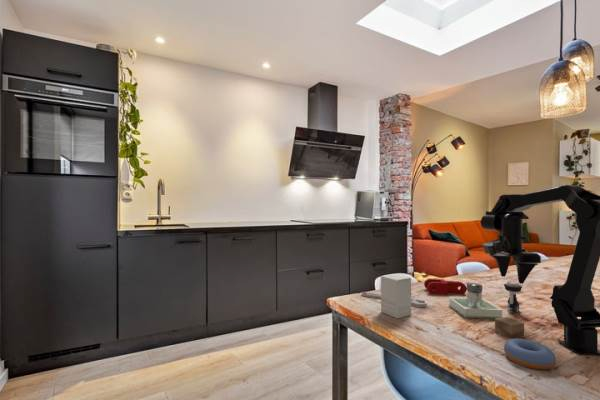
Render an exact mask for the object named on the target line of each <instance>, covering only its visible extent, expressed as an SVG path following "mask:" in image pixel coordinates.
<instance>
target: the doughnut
mask: <svg viewBox="0 0 600 400" xmlns="http://www.w3.org/2000/svg"><path fill="white" fill-rule="evenodd" d="M503 351H504V353H505V354H504V355H506V357H507V358H508V359H510V360H511V361H512V362H513V363H516V364H518V365H520V366H523V367H526V368H529V369H533V370H543V371H544V370H545V371H546V370H551V369H553V368H554V367H555V365H556V355H555V353H554V352H553V350H552V349H550V348H549V347H548V346H546V345H544V344H542V343H540V342H537V341H533V340H531V339H524V338H514V339H510V338H509V339H507V341H505V343H504V345H503Z"/></svg>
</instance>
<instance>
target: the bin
mask: <svg viewBox="0 0 600 400" xmlns="http://www.w3.org/2000/svg"><path fill="white" fill-rule="evenodd" d="M448 300H449V303H448V306H449V307H450V308H452V309H453V311H456V313H458V314H459V315H460V316H462V317H463V318H465V319H484V318H487V320H489V319H491V320H492V319H494V320H495V319H496V318H503V309H502V308H499V307H498V306H497V305H495V304H492V302H489V301H488V300H486V299H484V298H482V309H478V308H467V297H466V298H465V297H449V299H448Z"/></svg>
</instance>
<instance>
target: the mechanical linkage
mask: <svg viewBox="0 0 600 400" xmlns="http://www.w3.org/2000/svg"><path fill="white" fill-rule="evenodd" d="M423 285H424V287H425V289H426V290H427V292H429V293H430V294H431V295H443V296H447V295H450V294H454V295H464V294H465V293H467V285H466V284H465V283H463V282H462V281H457V280H456V281H455V280H445V279H443V278H427V279H426V280H424V282H423Z"/></svg>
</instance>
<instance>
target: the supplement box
mask: <svg viewBox="0 0 600 400" xmlns="http://www.w3.org/2000/svg"><path fill="white" fill-rule="evenodd" d="M380 295H381V299H380V312H381V313H383V314H386V315H388V316H390V317H393V318H395V319H400V318H404V317H408V316H411V315H412V305H411V298H412V278H411V277H409V276H404V275H401V274H396V273H393V274H386V275H381V276H380Z"/></svg>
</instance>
